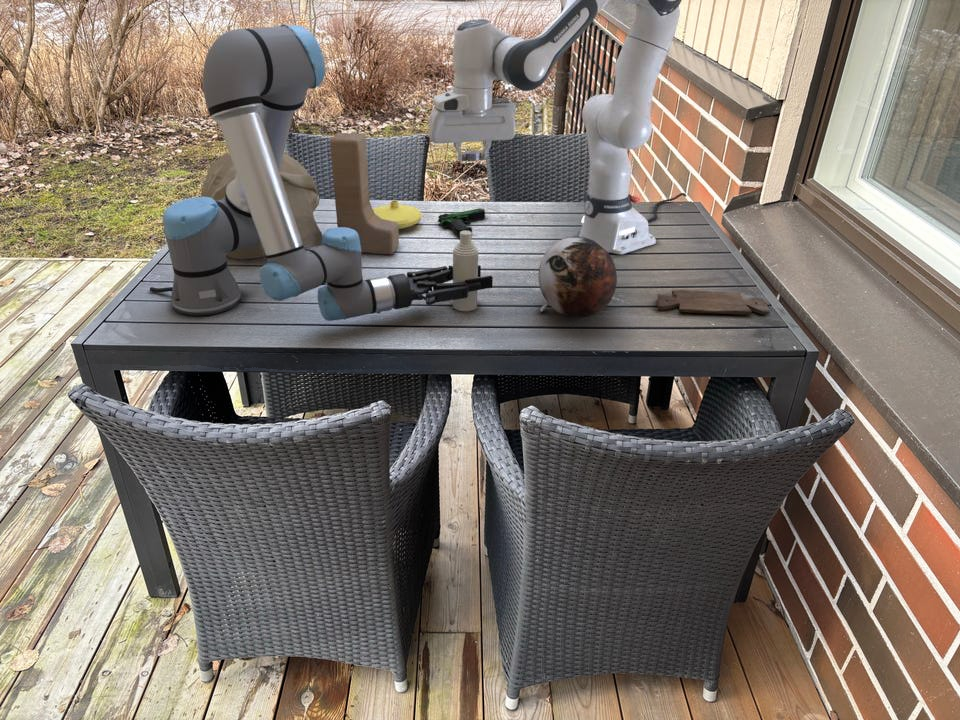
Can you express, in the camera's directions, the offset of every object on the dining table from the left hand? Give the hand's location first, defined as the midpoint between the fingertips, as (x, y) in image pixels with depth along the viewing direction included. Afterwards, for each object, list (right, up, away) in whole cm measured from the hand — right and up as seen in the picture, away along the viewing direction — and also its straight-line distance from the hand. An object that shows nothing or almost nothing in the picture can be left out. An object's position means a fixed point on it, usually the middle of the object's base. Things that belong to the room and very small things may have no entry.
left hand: (485, 276), depth 165 cm
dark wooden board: (+53, -7, +3) cm, 54 cm away
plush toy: (+20, -8, -1) cm, 22 cm away
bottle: (-5, -7, +2) cm, 8 cm away
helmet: (-60, +12, +31) cm, 68 cm away
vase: (-26, +21, +47) cm, 58 cm away
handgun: (-5, +20, +47) cm, 51 cm away
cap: (-3, +29, +3) cm, 30 cm away
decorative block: (-31, +11, +31) cm, 45 cm away
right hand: (-3, +28, +4) cm, 28 cm away
